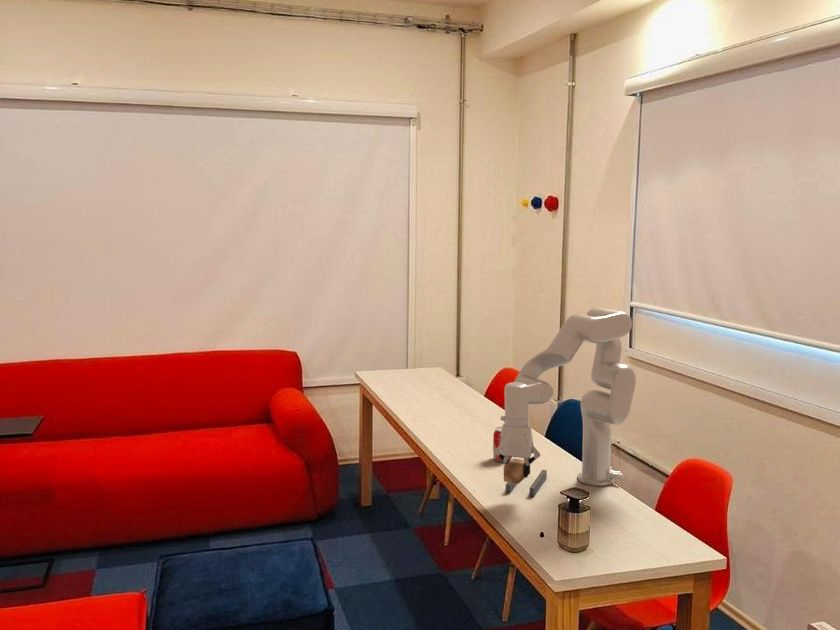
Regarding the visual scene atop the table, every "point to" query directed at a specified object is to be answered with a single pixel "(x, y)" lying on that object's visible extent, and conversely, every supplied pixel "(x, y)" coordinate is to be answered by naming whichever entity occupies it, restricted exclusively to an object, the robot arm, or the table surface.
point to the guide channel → (534, 486)
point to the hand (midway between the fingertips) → (517, 474)
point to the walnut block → (514, 471)
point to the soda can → (497, 443)
